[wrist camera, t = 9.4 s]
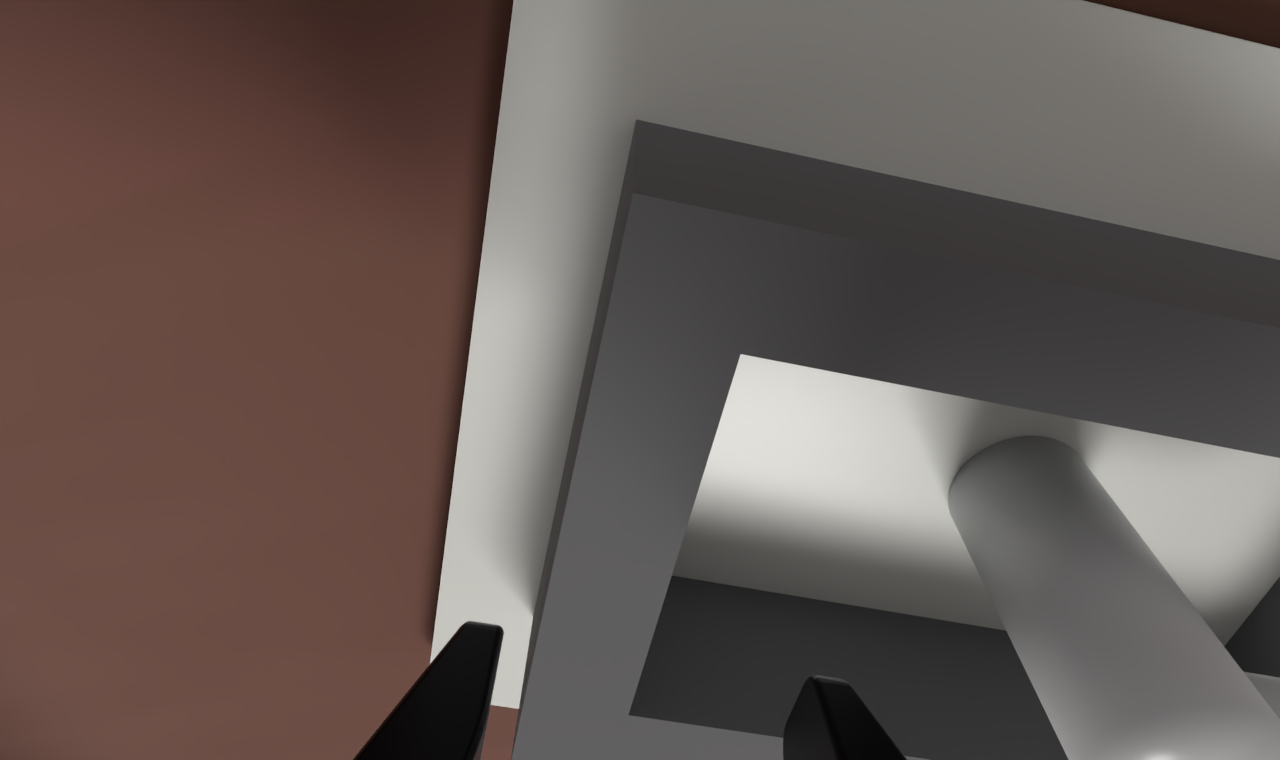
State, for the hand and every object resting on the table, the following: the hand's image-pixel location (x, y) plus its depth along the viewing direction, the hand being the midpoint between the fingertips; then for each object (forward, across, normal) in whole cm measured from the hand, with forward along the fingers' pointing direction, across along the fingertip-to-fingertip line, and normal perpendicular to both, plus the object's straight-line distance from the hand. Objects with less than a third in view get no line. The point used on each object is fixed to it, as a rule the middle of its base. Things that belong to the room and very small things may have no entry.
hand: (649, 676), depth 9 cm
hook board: (+6, -6, 0) cm, 8 cm away
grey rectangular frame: (+5, -6, 0) cm, 8 cm away
